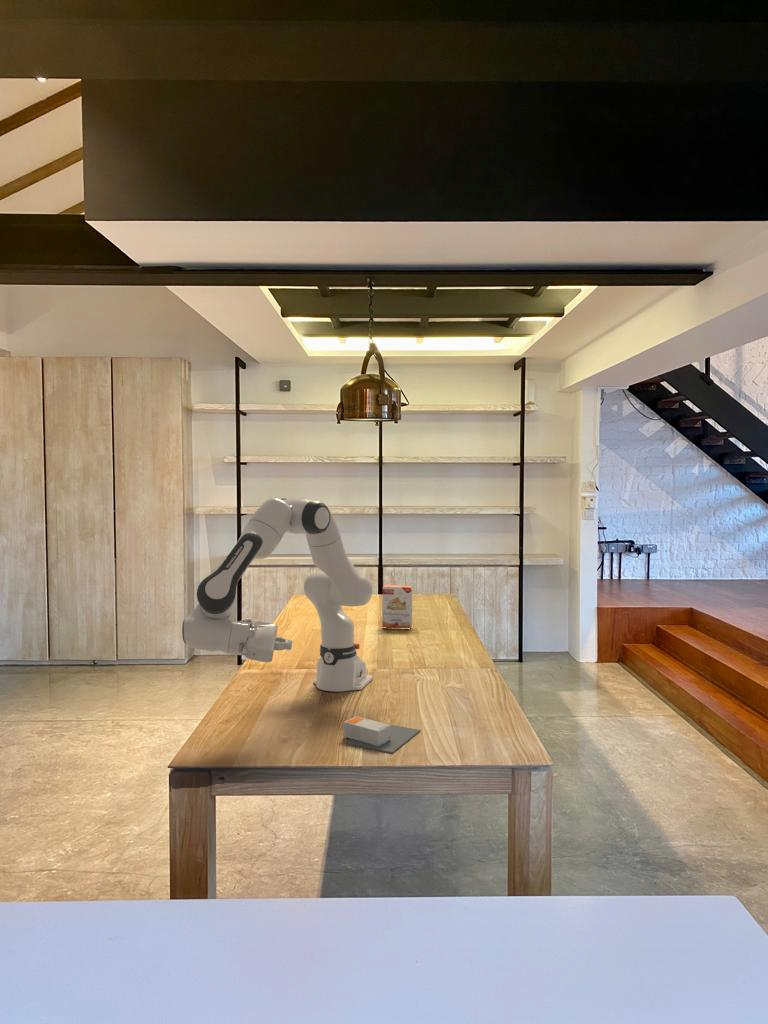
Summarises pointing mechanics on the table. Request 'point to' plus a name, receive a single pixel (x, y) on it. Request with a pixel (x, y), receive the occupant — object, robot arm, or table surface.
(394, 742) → the mat
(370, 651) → the table surface
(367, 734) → the skincare box
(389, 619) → the cracker box
